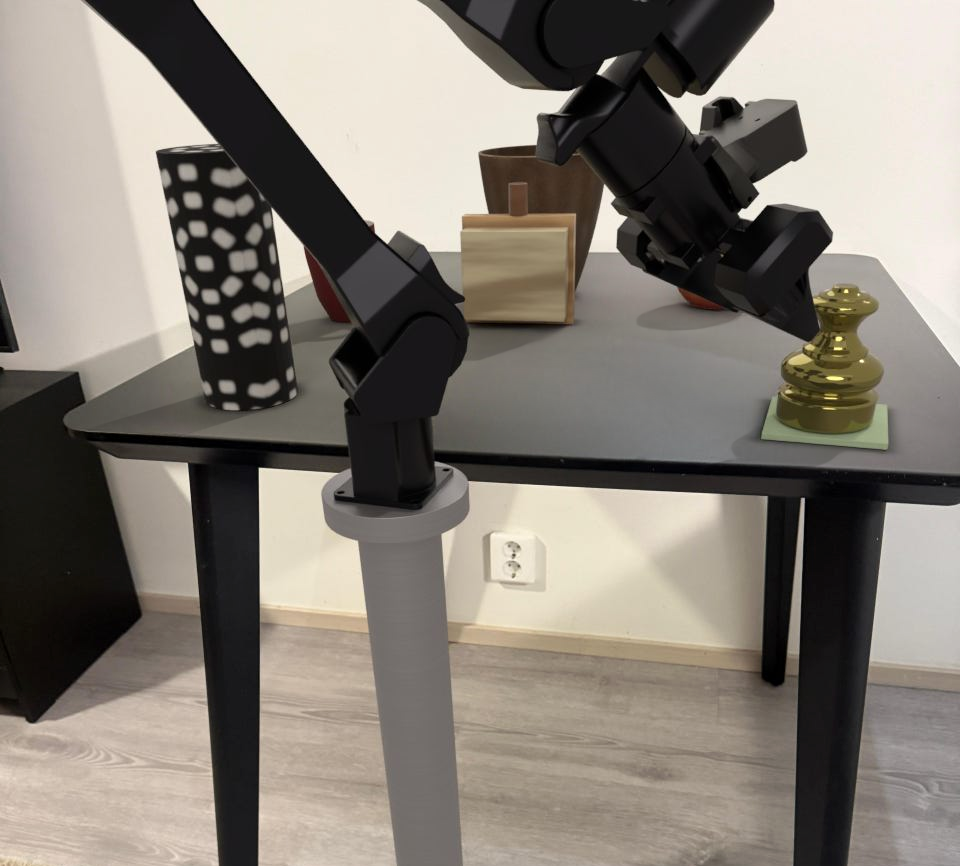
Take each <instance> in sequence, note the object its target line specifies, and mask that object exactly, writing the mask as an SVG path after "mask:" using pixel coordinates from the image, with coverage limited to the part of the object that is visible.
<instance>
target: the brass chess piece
mask: <svg viewBox="0 0 960 866" xmlns="http://www.w3.org/2000/svg"><path fill="white" fill-rule="evenodd" d="M812 297H813V301H814V305H815V310H816V314H817V318H818V323H819V327H820V331H819V333H818V334H817V335H816V336H815V338H814V339H813V340H812V341H811V342H806V341H805V342H804V343H803V344H802V347H801V348H799V349H796V350H794V351H792V352H790V353H789V354H788V355H786V356H785V357H784V358H783V360H782V361H781V365H780V376H781V378H782V379H783V381H784V383H782V384H781V385H780V386H778V388H777V397H778V399H777V405H776V412H775V413H776V416H777V418H778V419H779V420H780V421H781V422H783V423H784V424H786V425H788V426H790V427H793V428H796V429H799V430H803V431H808V432H814V433H824V434H842V433H850V432H856V431H859V430H862V429H864V428H866V427H868V426H869V425H871V424H872V422H873V420H874V414H875V409H876V404H878V401H879V399H880V396H879V394H878V392H877V391H876V390H875V388H877V386H879V385H880V384H881V382H882V380H883V378H884V374H885V366H884V364H883V362H882V361H881V360H880V359H879V357H877V356H876V355H874V354H872V353H871V352H869V347H868V346H867V345H866V344H865V343H863V341H862V339H861V338H860V336H859V334H858V329H859V327H860V326H861V324H862V323H863V322H864V321H865V320H866V319H867V318H869V317H870V316H872V315H873V314H875V313H876V312H877V311H879V309H880V301H879V299H877V298H876V297H875V296H873V295H871V293H869V292H867V291H864V290H860V286H859V285H857V284H854V283H848V282H847V283H846V282H845V283H836V284H833V285H832V287H831V288H829V289H824V290H821V291H819V292H817V293H814V294H812Z"/></svg>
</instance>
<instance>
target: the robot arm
mask: <svg viewBox="0 0 960 866" xmlns="http://www.w3.org/2000/svg"><path fill="white" fill-rule="evenodd" d="M80 1H81V2H82V3H83V4H84V5H85V6H86V7H87V8H89V9H90V10H91V11H92V12H93V13H95V14H96V15H97V16H98V17H99V18H100V19H102V20H103V22H105V23H106V24H107V25H108V26H109V27H110V28H112V29H113V30H114V31H115V32H116V33H118V34H119V35H120V36H121V37H122V38H123V39H124V40H125V41H126V42H128V43H129V44H130V45H131V46H132V47H134V48H135V49H136V50H137V51H138V52H139V53H140V54H142V56H144V58H145V59H146V60H147V61H148V62H149V63H150V65H151V66H152V67H153V68H154V69H155V71H156V72H157V73H158V74H159V75H160V77H161V78H162V79H163V80H164V81H165V83H167V85H168V86H169V87H170V88H171V90H172V91H173V92H174V93H175V95H176V96H177V97H178V98H179V99H180V101H181V102H182V103H183V104H184V105H185V106H186V107H187V109H189V111H190V113H192V115H193V116H194V117H195V119H197V121H198V122H199V123H200V124H201V126H203V128H204V129H205V130H206V131H207V133H208V134H209V135H210V136H211V137H212V139H213V140H214V141H215V142H216V144H219V145H220V147H221V148H222V149H223V150H224V151H225V153H226V154H227V155H228V156H229V157H230V159H231V160H232V161H233V162H234V163H235V164H236V166H237V167H238V168H239V169H240V170H241V172H242V173H243V174H244V175H245V176H246V178H247V179H248V180H249V181H250V182H251V184H252V185H253V186H254V187H255V188H256V189H257V191H258V192H259V193H260V194H261V195H262V197H263V198H264V199H265V200H266V201H267V203H268V204H269V205H270V206H271V207H272V211H274V212H275V213H276V215H277V216H278V217H279V218H280V220H282V222H283V223H284V224H285V225H286V227H287V228H288V229H289V230H290V231H291V233H292V234H293V235H294V236H295V237H296V238H297V240H298V241H299V242H300V243H301V245H302V246H303V245H304V246H303V248H304V247H305V248H306V249H307V250H308V251H309V253H310V254H311V255H312V256H313V257H314V258H315V260H316V261H317V262H318V264H319V265H320V267H321V269H322V271H323V272H324V274H325V276H326V278H327V280H328V282H329V283H330V285H331V287H332V289H333V291H334V293H335V294H336V296H337V298H338V300H339V302H340V304H341V305H342V307H343V309H344V310H345V312H346V314H347V315H348V317H349V319H350V321H351V322H350V323H351V324H352V326H353V328H352V329H351V330H350V331H349V333H348V334H347V335H346V337H345V338H344V339H343V341H341V343H340V345H338V347H336V349H335V351H334V352H333V353H332V355H330V356H329V359H328V365H329V367H330V369H331V371H332V373H333V375H334V377H335V379H336V380H337V383H338V385H339V386H340V387H341V389H342V390H344V391H345V393H346V395H347V396H348V397H347V398H346V399H345V400H344V402H343V409H344V413H343V417H344V426H345V433H346V442H347V449H348V458H349V459H348V460H349V465H350V468H351V476H352V477H351V478H350V479H349V480H347V481H346V482H345V483H344V484H343V485H342V486H340V487H339V488H338V489H337V490H336V491H335V492H334V493H333V494H334V500H336V501H342V502H351V503H359V504H367V505H375V506H383V507H392V508H400V509H408V510H420V509H422V508H423V507H424V506H425V505H426V504H427V503H428V502H429V501H430V500H431V499H432V498H433V497H434V496H435V495H436V494H437V493H438V492H439V491H440V489H441V488H442V487H443V486H444V485H445V484H446V483H447V482H448V481H449V480H450V479H451V478H452V477H453V475H454V472H453V469H452V468H449V467H440V466H435V462H436V461H435V458H436V457H435V444H434V430H433V417H437V416H438V415H439V413H440V410H441V407H442V404H443V399H444V396H445V393H446V389H447V386H448V381H449V378H451V377H452V376H453V375H454V374H455V373H456V371H457V370H458V369H459V368H460V366H461V365H462V363H463V361H464V359H465V356H466V354H467V352H468V345H469V344H468V343H469V337H470V329H469V324H468V322H466V320H465V318H464V313H462V311H461V309H460V308H459V307H458V306H457V304H463V302H464V301H465V297H464V296H463V294H461V293H460V292H458V291H457V290H456V289H454V288H453V287H451V286H450V285H449V284H448V283H447V282H446V281H445V280H444V278H443V276H442V274H441V273H440V271H439V269H438V267H437V265H436V263H435V261H434V259H433V258H432V256H431V254H430V253H429V251H428V249H427V247H426V246H425V245H424V244H423V243H421V242H420V241H417V240H416V239H415V238H413V237H411V236H410V235H408V234H407V233H404V232H403V231H401V230H397V231H396V232H395V234H394V235H393V236H392V237H391V239H390V240H389V241H388V243H387V242H386V241H384V240H383V239H382V238H381V237H380V236H379V235H378V234H377V233H376V232H375V233H374V232H373V231H372V230H371V228H370V227H369V226H368V224H367V223H366V222H365V221H364V220H365V219H364V217H362V215H361V214H360V213H359V212H358V210H357V209H356V207H355V206H354V205H353V204H352V202H351V201H350V200H349V199H348V197H347V196H346V195H345V194H344V192H343V191H342V190H341V188H340V187H339V186H338V185H337V183H336V182H335V180H334V179H333V178H332V177H331V175H330V174H329V173H328V172H327V170H326V169H325V168H324V167H323V166H322V164H321V162H320V161H319V160H318V159H317V157H316V156H315V154H313V152H312V150H310V149H309V147H308V146H307V145H306V143H305V142H304V141H303V139H302V138H301V137H300V136H299V134H298V133H297V132H296V130H295V129H294V128H293V126H292V125H291V124H290V123H289V122H288V120H287V119H286V118H285V117H284V115H283V114H282V113H281V111H280V109H278V107H277V106H276V104H274V103H273V101H272V100H271V98H270V97H269V96H268V95H267V93H266V91H265V90H263V88H262V86H261V85H260V84H259V83H258V82H257V80H256V78H254V76H252V74H251V72H249V70H248V69H247V67H246V66H245V64H243V63H242V61H241V60H240V58H239V57H238V56H237V54H236V53H235V52H234V51H233V50H232V48H231V47H230V46H229V45H228V43H227V41H225V39H224V38H223V37H222V35H221V34H220V32H218V30H217V29H216V28H215V27H214V25H213V24H212V22H211V21H210V20H209V19H208V18H207V16H206V15H205V14H204V13H203V11H202V9H200V7H199V5H198V4H197V3H196V1H195V0H80ZM416 1H417V2H419V3H421V4H422V5H424V6H425V7H427V8H428V9H429V10H430V11H431V12H433V13H434V14H435V15H436V16H437V17H438V18H439V19H440V20H441V21H443V22H444V24H446V25H447V26H448V28H449V29H450V30H451V31H452V33H454V35H456V37H457V38H458V39H459V41H460V42H462V44H463V45H464V46H465V47H466V48H467V49H468V50H469V51H470V52H472V53H473V54H474V55H475V56H476V57H477V58H478V59H479V60H481V61H482V63H484V64H485V65H486V66H487V67H488V68H490V69H491V70H492V71H493V72H494V73H495V74H497V76H499V77H500V78H501V79H502V80H503V81H505V82H506V83H508V84H509V85H511V86H514V87H517V88H519V89H521V90H522V89H523V90H532V91H533V90H535V91H548V92H549V91H550V92H571V91H573V92H572V93H571V95H570V96H569V97H568V98H567V99H566V101H564V103H563V104H562V106H561V107H560V108H559V109H558V111H556V112H552V113H548V112H539V113H538V114H537V115H536V123H537V129H538V130H537V131H538V132H537V139H536V145H537V146H536V159H537V160H538V161H540V162H544V163H548V164H552V165H556V166H563V165H565V164H566V162H567V161H568V160H569V159H570V157H571V156H572V155H573V154H574V152H575V151H577V152H578V153H579V154H580V156H581V157H582V158H583V159H584V160H585V162H586V163H587V164H588V165H589V166H590V168H591V169H592V170H593V171H594V172H595V173H596V175H597V176H598V177H599V178H600V179H601V181H602V182H603V183H604V186H605V187H606V188H607V189H608V191H610V193H611V194H612V195H613V197H614V199H613V200H612V201H611V202H610V205H611V206H612V208H613V209H614V210H615V211H616V212H617V213H618V215H619V216H623V217H625V219H624V220H623V222H622V223H621V224H620V226H619V227H618V228H617V229H616V243H615V244H616V245H615V247H616V249H617V251H618V252H619V253H620V254H621V256H623V258H624V259H625V260H626V261H627V262H628V263H629V264H630V265H631V266H632V267H636V268H638V269H640V270H642V272H644V273H645V274H647V275H649V276H652V277H653V278H656V279H659V280H661V281H663V282H665V283H668V284H670V285H672V286H675V287H676V288H677V287H679V288H681V289H683V290H685V291H688V292H690V293H692V294H694V295H697V296H699V297H701V298H703V299H706V300H708V301H710V302H712V303H714V304H717V305H719V306H721V307H723V308H725V309H724V310H728V311H730V312H733V313H735V314H737V313H739V312H741V313H743V314H745V315H747V316H749V317H752V318H753V319H754V318H755V319H756V320H759V321H760V322H762V323H765V324H767V325H769V326H772V327H774V328H776V329H777V330H780V331H782V332H783V333H787V334H788V335H790V336H792V337H795V338H797V339H799V340H802V341H804V342H805V343H806V342H811V341H812V340H813V339H814V338H815V336H816V335H817V334H818V333H819V331H820V324H819V321H818V318H817V314H816V310H815V305H814V301H813V297H812V296H813V293H812V288H811V282H810V274H809V273H810V267H811V266H812V265H813V264H814V263H815V262H816V260H817V259H819V257H820V256H821V255H822V254H823V253H824V252H825V250H827V248H828V247H829V246H830V245H831V244H832V243H833V240H834V239H833V238H834V231H833V230H832V229H831V227H830V226H829V224H828V223H827V221H826V219H825V218H824V217H823V215H822V214H821V212H820V211H819V210H818V209H813V208H809V207H804V206H800V205H794V204H790V203H775V204H766V206H764V208H763V209H762V210H761V211H760V212H759V214H758V215H757V216H756V217H755V218H754V219H753V220H752V219H748V218H743V217H741V216H740V214H739V213H740V212H741V210H742V209H743V210H747V209H748V208H749V207H750V206H751V205H752V204H753V202H754V201H755V200H756V199H757V198H758V197H759V196H760V194H761V193H760V192H759V191H758V189H757V188H756V187H755V185H754V184H756V183H758V182H760V181H762V180H764V179H765V178H767V177H768V176H770V175H771V174H773V173H775V172H777V171H778V170H779V169H781V168H782V167H784V166H786V165H788V164H789V163H791V162H794V163H796V162H798V161H799V160H801V159H802V158H804V157H805V156H806V155H807V154H808V146H807V141H806V137H805V132H804V128H803V123H802V118H801V113H800V109H799V105H798V101H797V100H794V99H781V98H779V99H778V98H763V99H759V100H757V101H753V100H748V101H747V102H745V103H744V107H743V105H742V104H741V103H740V102H739V101H738V100H737V99H736V97H734V96H721V95H720V96H717V97H716V98H714V99H712V100H710V101H709V102H708V103H706V104H704V105H703V106H702V107H701V108H702V109H701V117H700V126H699V132H698V134H697V133H693V132H692V131H691V130H690V129H689V127H688V126H687V125H686V122H684V121H683V119H682V118H681V117H680V115H679V114H678V112H677V111H676V109H674V107H673V106H672V104H671V103H670V102H669V100H668V99H667V97H666V96H665V95H664V94H663V93H665V94H666V95H668V96H669V97H671V98H675V99H681V98H683V96H684V94H686V93H689V94H691V95H694V96H698V97H701V96H704V95H707V93H708V92H709V91H710V90H711V88H712V87H713V86H714V84H716V82H717V81H718V80H719V78H721V76H722V75H723V74H724V73H725V71H726V70H727V69H728V68H729V66H730V65H732V63H733V61H734V60H735V59H736V58H737V57H738V56H739V54H740V53H741V52H742V51H743V49H744V48H745V47H746V46H747V44H748V43H749V42H750V41H751V40H752V38H753V37H754V36H755V35H756V33H757V32H758V31H759V30H760V29H761V28H762V26H763V25H764V24H765V23H766V22H767V20H768V19H769V18H770V17H771V15H772V14H773V12H774V11H775V0H416ZM613 58H615V59H614V60H613V61H612V62H611V63H610V65H609V66H608V67H607V68H606V69H605V70H604V71H603V72H602V73H601V74H599V71H600V70H601V67H602V66H603V65H604V63H605V61H607V60H609V59H613ZM721 255H723V257H722V256H721Z"/></svg>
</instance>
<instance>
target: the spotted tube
mask: <svg viewBox="0 0 960 866" xmlns="http://www.w3.org/2000/svg"><path fill="white" fill-rule="evenodd" d="M155 155H156V156H155V157H156V161H157V167H158V170H159V176H160V181H161V186H162V190H163V196H164V201H165V206H166V211H167V215H168V221H169V227H170V231H171V237H172V242H173V246H174V251H175V256H176V261H177V265H178V270H179V276H180V282H181V286H182V291H183V297H184V302H185V305H186V307H185V308H186V311H187V316H188V321H189V326H190V331H191V336H192V341H193V346H194V351H195V356H196V361H197V366H198V372H199V376H200V381H201V382H200V383H201V387H202V391H203V396H204V401H205V404H207V405H208V406H209V407H212V408H215V409H219V410H225V411H251V410H259V409H260V410H261V409H267V408H270V407H275V406H277V405H281V404H284V403H286V402H289V401H291V400H292V399H293V398H295V397H296V396H297V395H298V393H299V392H298V391H299V389H298V383H297V376H296V369H295V361H294V355H293V348H292V340H291V334H290V327H289V320H288V312H287V306H286V298H285V291H284V284H283V278H282V272H281V264H280V257H279V249H278V243H277V237H276V236H277V235H276V229H275V221H274V215H273V209H272V207H271V206H270V205H269V204H268V203H267V201H266V200H265V199H264V198H263V197H262V195H261V194H260V193H259V192H258V191H257V189H256V188H255V187H254V186H253V185H252V184H251V182H250V181H249V180H248V179H247V178H246V176H245V175H244V174H243V173H242V172H241V170H240V169H239V168H238V167H237V166H236V164H235V163H234V162H233V161H232V160H231V159H230V157H229V156H228V155H227V154H226V153H225V151H224V150H223V149H222V148H221V147H220V145H219V144H218V143H207V144H192V145H184V146H182V145H181V146H173V147H165V148H161V149H157V150H155Z"/></svg>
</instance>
